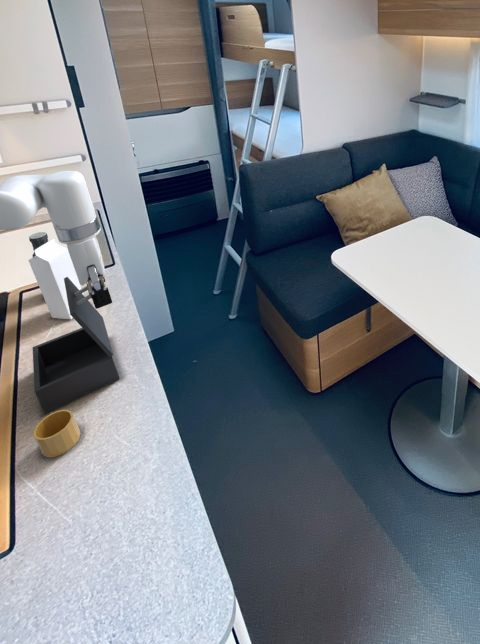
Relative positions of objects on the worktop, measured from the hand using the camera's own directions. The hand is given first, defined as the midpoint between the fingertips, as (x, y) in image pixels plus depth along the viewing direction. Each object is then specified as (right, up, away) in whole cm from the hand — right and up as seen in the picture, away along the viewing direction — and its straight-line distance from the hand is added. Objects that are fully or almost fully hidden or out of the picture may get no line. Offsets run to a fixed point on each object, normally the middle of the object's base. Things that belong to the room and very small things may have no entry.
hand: (100, 294), depth 93 cm
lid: (-3, -5, -1) cm, 6 cm away
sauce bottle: (-33, -8, +30) cm, 45 cm away
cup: (+1, -25, -13) cm, 28 cm away
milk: (-23, -11, +22) cm, 34 cm away
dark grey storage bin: (-6, -19, +2) cm, 20 cm away
